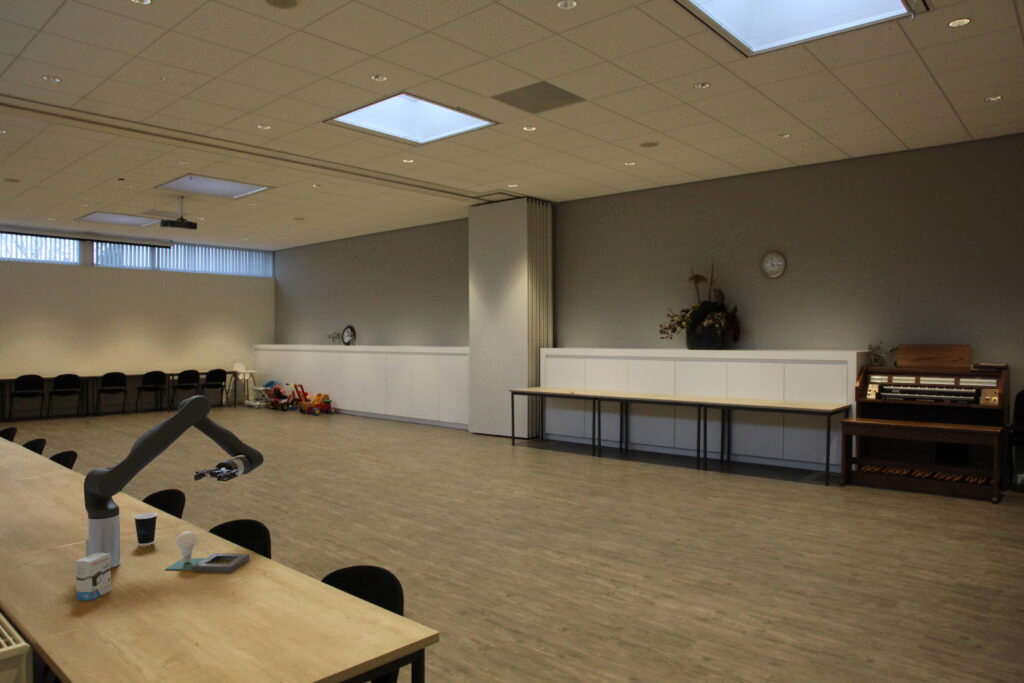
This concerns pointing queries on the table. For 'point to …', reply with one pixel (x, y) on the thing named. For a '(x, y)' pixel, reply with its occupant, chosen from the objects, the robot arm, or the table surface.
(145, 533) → the dixie cup
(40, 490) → the table surface
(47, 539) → the table surface
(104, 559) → the ink box
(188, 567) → the mat
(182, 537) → the lightbulb
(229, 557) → the holder
